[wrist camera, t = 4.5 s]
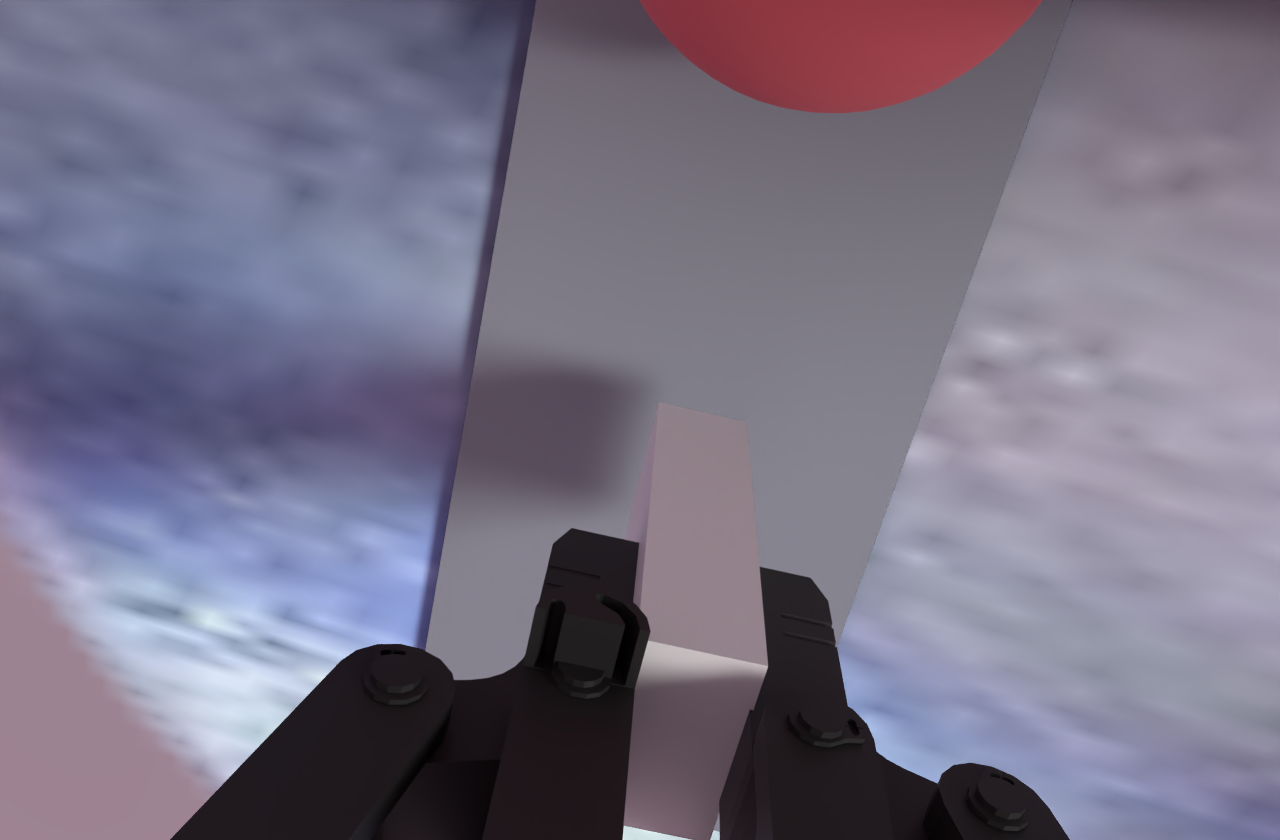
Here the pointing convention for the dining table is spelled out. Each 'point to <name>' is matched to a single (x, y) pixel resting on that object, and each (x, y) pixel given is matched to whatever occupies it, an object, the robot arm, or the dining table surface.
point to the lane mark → (710, 302)
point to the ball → (837, 46)
